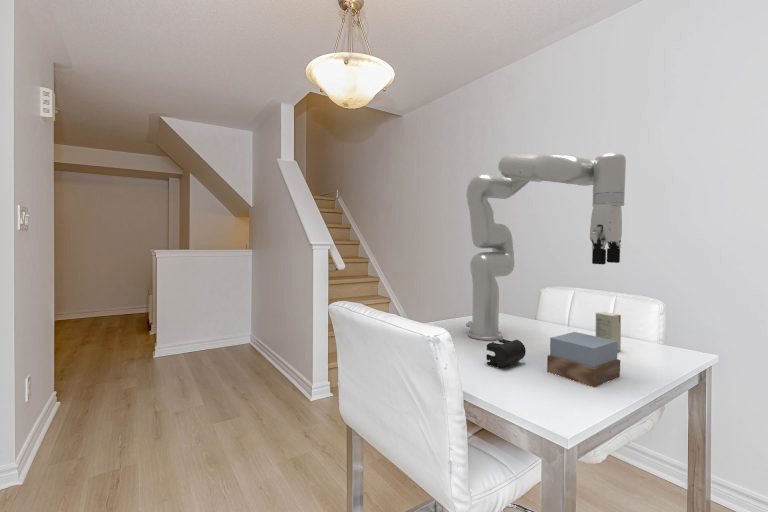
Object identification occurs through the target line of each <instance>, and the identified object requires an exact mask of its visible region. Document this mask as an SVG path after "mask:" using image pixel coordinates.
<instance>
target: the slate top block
mask: <svg viewBox="0 0 768 512" xmlns="http://www.w3.org/2000/svg"><path fill="white" fill-rule="evenodd" d="M549 340H550V342H549V343H550V344H549V346H550V348H549V355H550V356H553V357H557V358H560V359H564V360H567V361H571V362H574V363H578V364H581V365H585V366H588V367H592V368H595V367H597V366H600V365H603V364H606V363H609V362H611V361H614V360H617V359H618V352H617V349H618V341H615V340H610V339H606V338H601V337H597V336H596V335H592V334H587V333H582V332H578V331H572V332H569V333H568V332H567V333H564V334H560V335H556V336H553V337H550V339H549Z"/></svg>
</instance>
